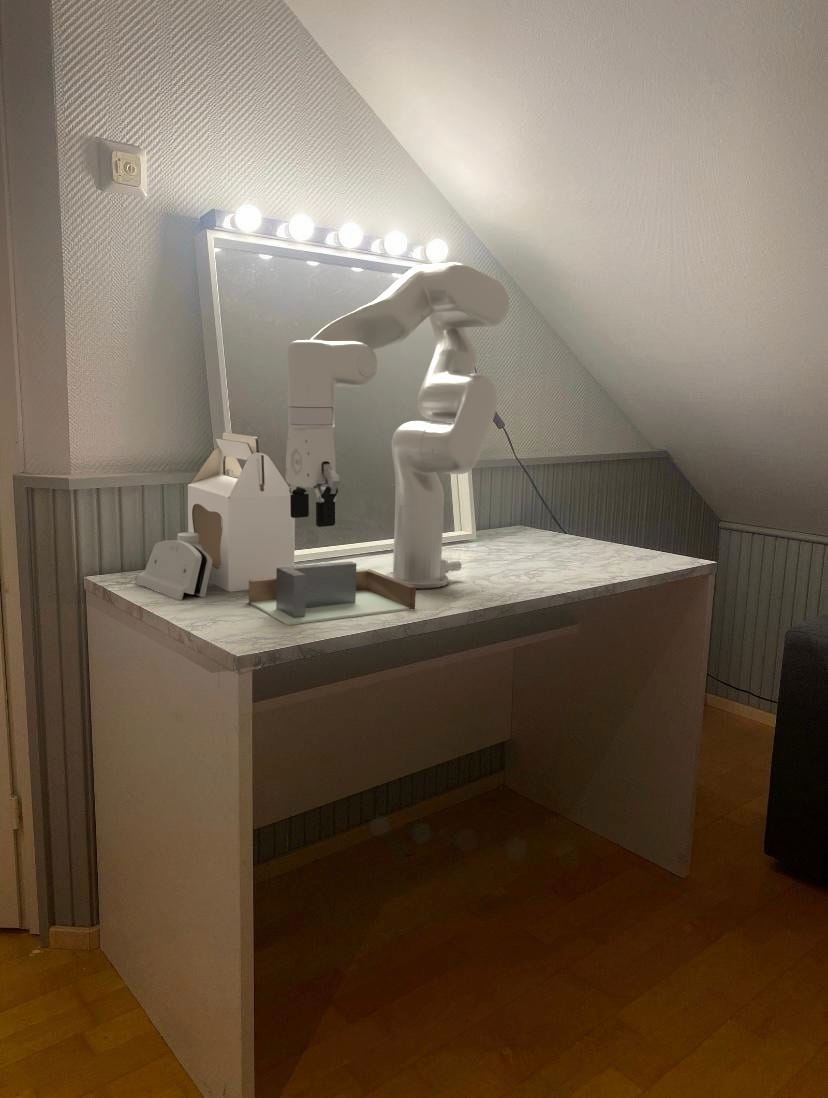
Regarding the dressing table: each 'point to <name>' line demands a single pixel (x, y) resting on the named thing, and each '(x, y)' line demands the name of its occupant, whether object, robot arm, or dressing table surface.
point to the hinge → (177, 569)
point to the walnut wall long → (267, 587)
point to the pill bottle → (189, 538)
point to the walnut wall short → (391, 589)
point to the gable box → (241, 514)
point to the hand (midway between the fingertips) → (312, 521)
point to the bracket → (314, 586)
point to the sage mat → (335, 609)
